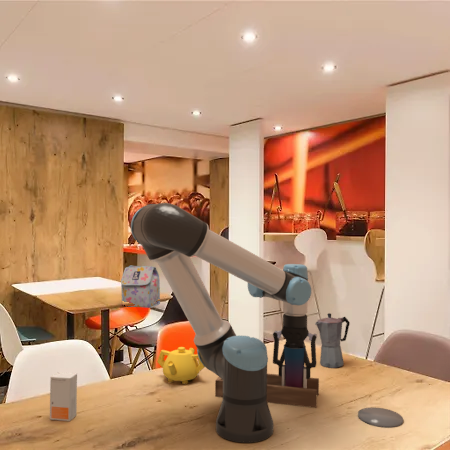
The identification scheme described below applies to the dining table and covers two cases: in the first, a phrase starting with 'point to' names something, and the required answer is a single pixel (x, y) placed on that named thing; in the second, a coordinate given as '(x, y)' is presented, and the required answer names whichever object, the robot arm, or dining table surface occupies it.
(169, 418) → the dining table surface
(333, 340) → the moka pot
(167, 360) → the teapot
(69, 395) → the skincare box
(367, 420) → the coaster
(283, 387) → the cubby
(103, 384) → the dining table surface
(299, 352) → the cup
